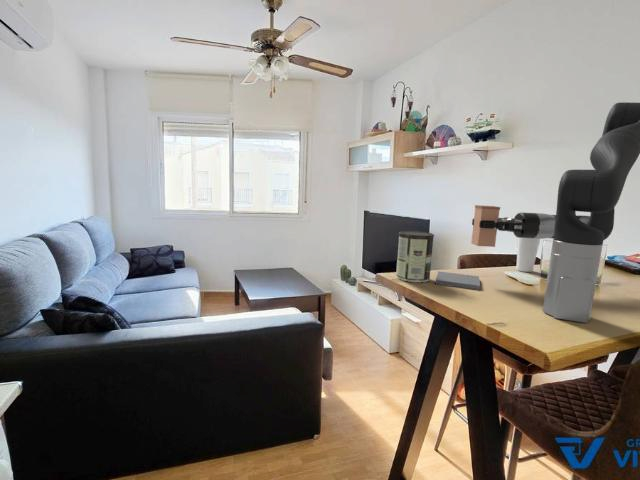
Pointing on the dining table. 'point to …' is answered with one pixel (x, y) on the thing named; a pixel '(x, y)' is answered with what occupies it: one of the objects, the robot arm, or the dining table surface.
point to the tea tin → (484, 234)
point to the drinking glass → (526, 253)
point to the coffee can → (414, 256)
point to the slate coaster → (458, 280)
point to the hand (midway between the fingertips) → (476, 223)
